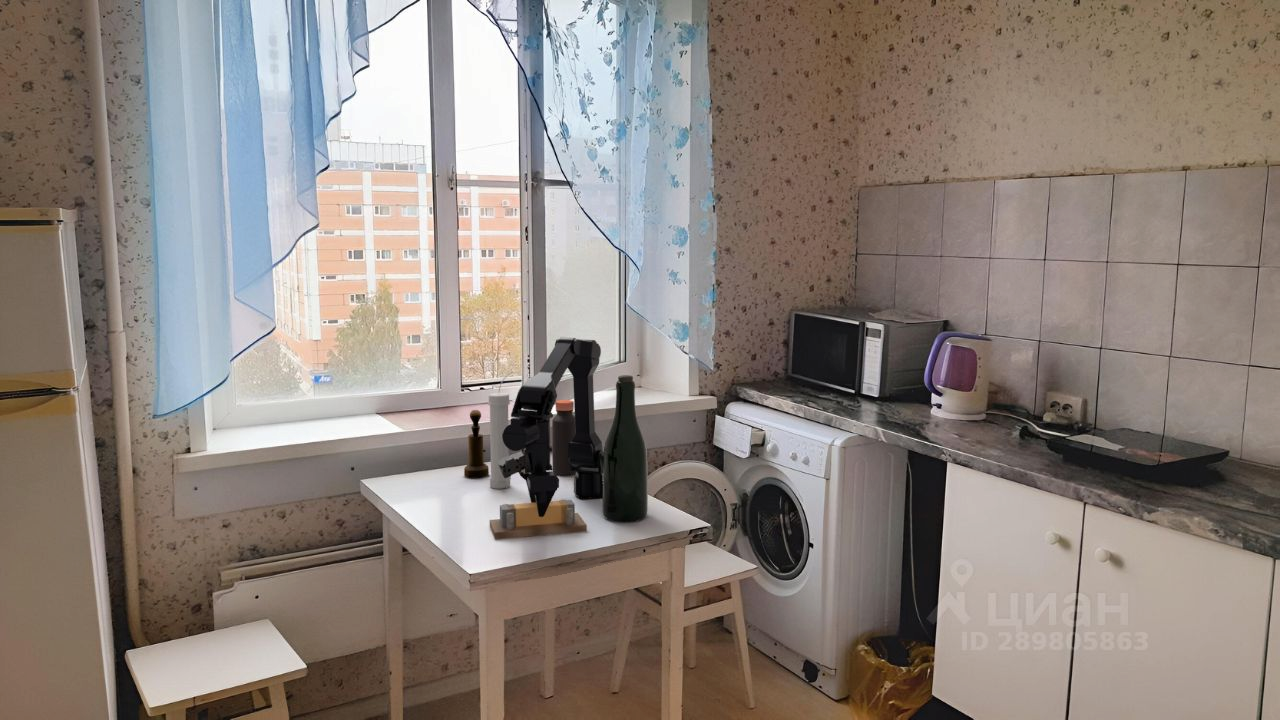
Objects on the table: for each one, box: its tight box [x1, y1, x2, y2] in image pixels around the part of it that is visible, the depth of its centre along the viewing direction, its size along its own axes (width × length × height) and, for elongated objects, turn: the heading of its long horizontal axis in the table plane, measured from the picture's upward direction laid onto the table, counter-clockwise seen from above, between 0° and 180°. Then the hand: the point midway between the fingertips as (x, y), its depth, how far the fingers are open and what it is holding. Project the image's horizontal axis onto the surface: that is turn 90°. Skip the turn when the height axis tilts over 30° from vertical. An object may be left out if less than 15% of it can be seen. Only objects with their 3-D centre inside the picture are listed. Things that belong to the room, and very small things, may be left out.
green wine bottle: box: [602, 374, 649, 523], centre depth 203 cm, size 10×10×33 cm
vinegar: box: [551, 399, 576, 477], centre depth 242 cm, size 7×7×20 cm
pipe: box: [487, 371, 513, 490], centre depth 227 cm, size 6×6×30 cm
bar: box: [499, 499, 576, 528], centre depth 195 cm, size 16×4×4 cm, turn 107°
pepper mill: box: [463, 409, 490, 479], centre depth 239 cm, size 7×6×18 cm
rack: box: [489, 503, 588, 540], centre depth 195 cm, size 20×9×5 cm, turn 107°
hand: (537, 510), depth 195 cm, fingers open, 9 cm apart
